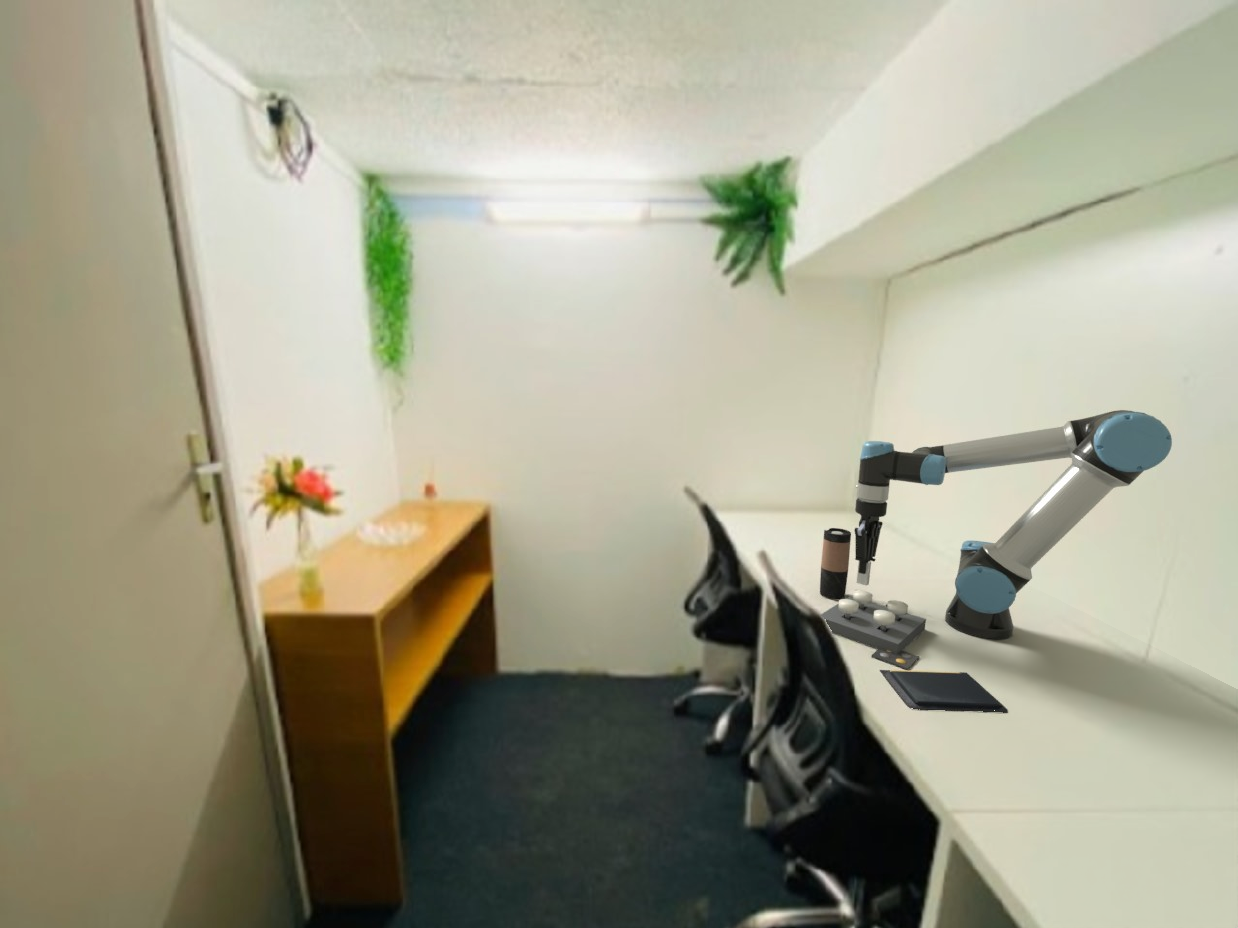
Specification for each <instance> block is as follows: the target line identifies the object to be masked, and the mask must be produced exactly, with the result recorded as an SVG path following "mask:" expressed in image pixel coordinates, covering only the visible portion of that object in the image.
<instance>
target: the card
mask: <svg viewBox="0 0 1238 928" xmlns="http://www.w3.org/2000/svg"><path fill="white" fill-rule="evenodd" d="M871 658H873V659H877V660H879V661H882V662H884V663H887V664H890V665H893V666H895V667H897V668H901V669H903V670H910V668H912V666H913V665H914V664H915V663H916V662H917V661H918V660H919V659H920V655H917V654H914V653H911V652H909V651H905V650H901V651H900V652H899V653H898V654H895V653H892V652H891V651H888V650H887V651H886V650H884V649H881V648H879V649H876V651H875V652H873V653H872V654H871Z"/></svg>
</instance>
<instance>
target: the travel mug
mask: <svg viewBox="0 0 1238 928" xmlns="http://www.w3.org/2000/svg"><path fill="white" fill-rule="evenodd" d="M851 540H852V532H851V531H849V530H847V529H843V528H838V527H831V528H830V527H829V528H828V529H824V530H823V541H822V542H823V543H822V550H821V551H822V552H821V563H820V579H819V594H820V596H822V597H824V598H827V599H830V600H837V601H839V600H841V599H845V597H846V591H847V584H848V583H847V581H848V576H849V575H848V574H849V564H850V552H851V551H850V549H851Z"/></svg>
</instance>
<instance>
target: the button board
mask: <svg viewBox="0 0 1238 928" xmlns="http://www.w3.org/2000/svg"><path fill="white" fill-rule="evenodd" d="M845 599H849V600H853V595H849V596H848V597H847V598H845ZM853 601H854V600H853ZM858 604H859V605H860V603H858ZM838 607H839V602H838V603H837V604H835V605H833V606H832V607H831V608H829V609H827V610H825V612H823V613H821V614H820V615H821V616H822V617H823V618H824V619H826V622H827V624H828V625H829V627H830V629H831V630H832V632H833V633H832V632H831V633H832V634H835V635H838V636H841V637H843V638H846V639H849V640H852V641H854V642H856V643H857V642H858V643H860V644H863V645H865V646H869V647H871V648H873V649H876V650H878V649H879V648H881V649H884V650H886V651H887V650H888V651H891V652H892V653H895V654H898V653H899V652H900V651H901V650H903V651H905V649H906V648H907V647H908V646H909V645H910V644H911V643H913V641H914V640H916V639H917V638H918V637H919V636H920V635H921V634H922V633H923V632H924V631H925V630H926V623H927V619H926V618H924V617H920V616H918V615H914V614H910V613H908V612H907V614H906V615H899V621H897V620H895V623H894V625H892V626H886V631H885V632H884V631H881V630H880V627H881V625H880V624H878V623H876V622H874V620H873V617H874V611H876V610H885V611H887V606H884V605H881V604H877V603H874V602H872V603H871V604H864V610H862V609H859V608H858V613H856V614H850V620H849V619H846V618H845V613H844V612H841V611H840V610H839V609H838Z"/></svg>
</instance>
